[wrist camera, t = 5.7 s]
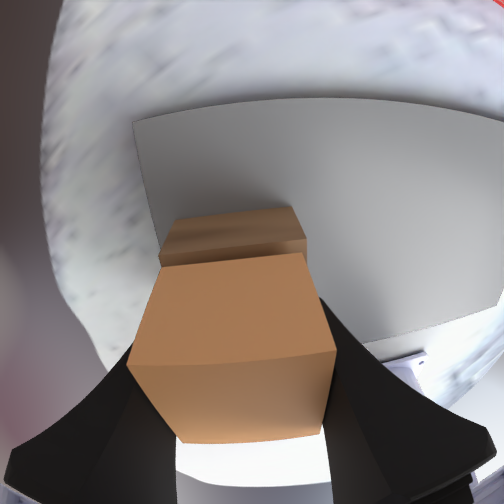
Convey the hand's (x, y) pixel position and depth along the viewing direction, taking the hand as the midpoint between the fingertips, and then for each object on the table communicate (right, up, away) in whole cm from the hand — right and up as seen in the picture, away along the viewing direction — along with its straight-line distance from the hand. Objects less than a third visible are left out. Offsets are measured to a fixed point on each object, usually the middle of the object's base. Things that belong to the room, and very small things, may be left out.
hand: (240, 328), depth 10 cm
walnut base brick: (0, +2, +4) cm, 4 cm away
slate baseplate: (+8, +4, +4) cm, 10 cm away
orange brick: (0, 0, +1) cm, 1 cm away
